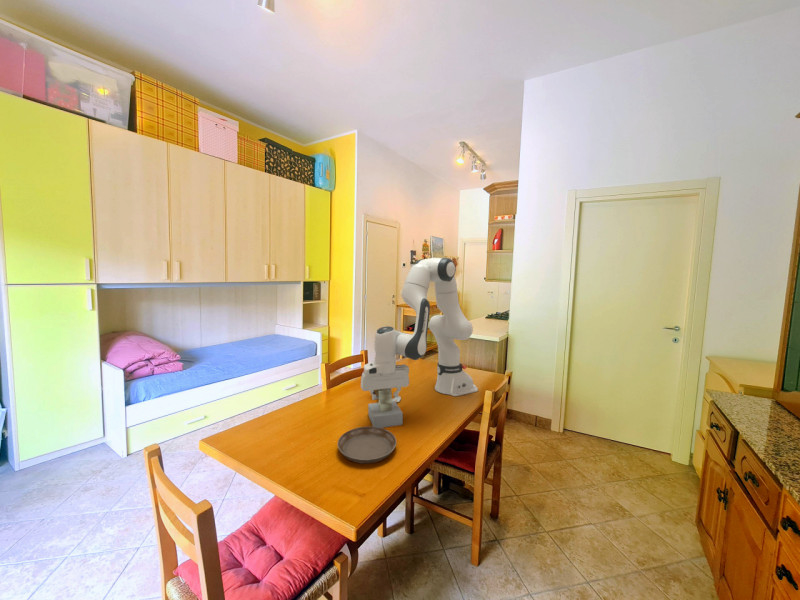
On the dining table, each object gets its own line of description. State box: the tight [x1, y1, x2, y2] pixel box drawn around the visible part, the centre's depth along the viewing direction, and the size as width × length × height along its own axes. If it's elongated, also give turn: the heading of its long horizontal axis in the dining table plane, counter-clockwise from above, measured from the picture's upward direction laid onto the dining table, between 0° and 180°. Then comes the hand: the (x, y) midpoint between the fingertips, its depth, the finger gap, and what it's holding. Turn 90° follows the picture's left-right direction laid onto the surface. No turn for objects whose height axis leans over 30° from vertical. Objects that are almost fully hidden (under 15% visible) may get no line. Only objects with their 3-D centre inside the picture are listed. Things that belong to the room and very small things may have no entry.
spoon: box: [392, 395, 402, 403], centre depth 145 cm, size 4×21×2 cm, turn 146°
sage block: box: [378, 390, 393, 411], centre depth 131 cm, size 4×4×7 cm
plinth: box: [367, 400, 404, 429], centre depth 132 cm, size 12×12×5 cm
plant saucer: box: [337, 426, 397, 464], centre depth 111 cm, size 21×21×3 cm
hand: (385, 398), depth 131 cm, fingers open, 8 cm apart
